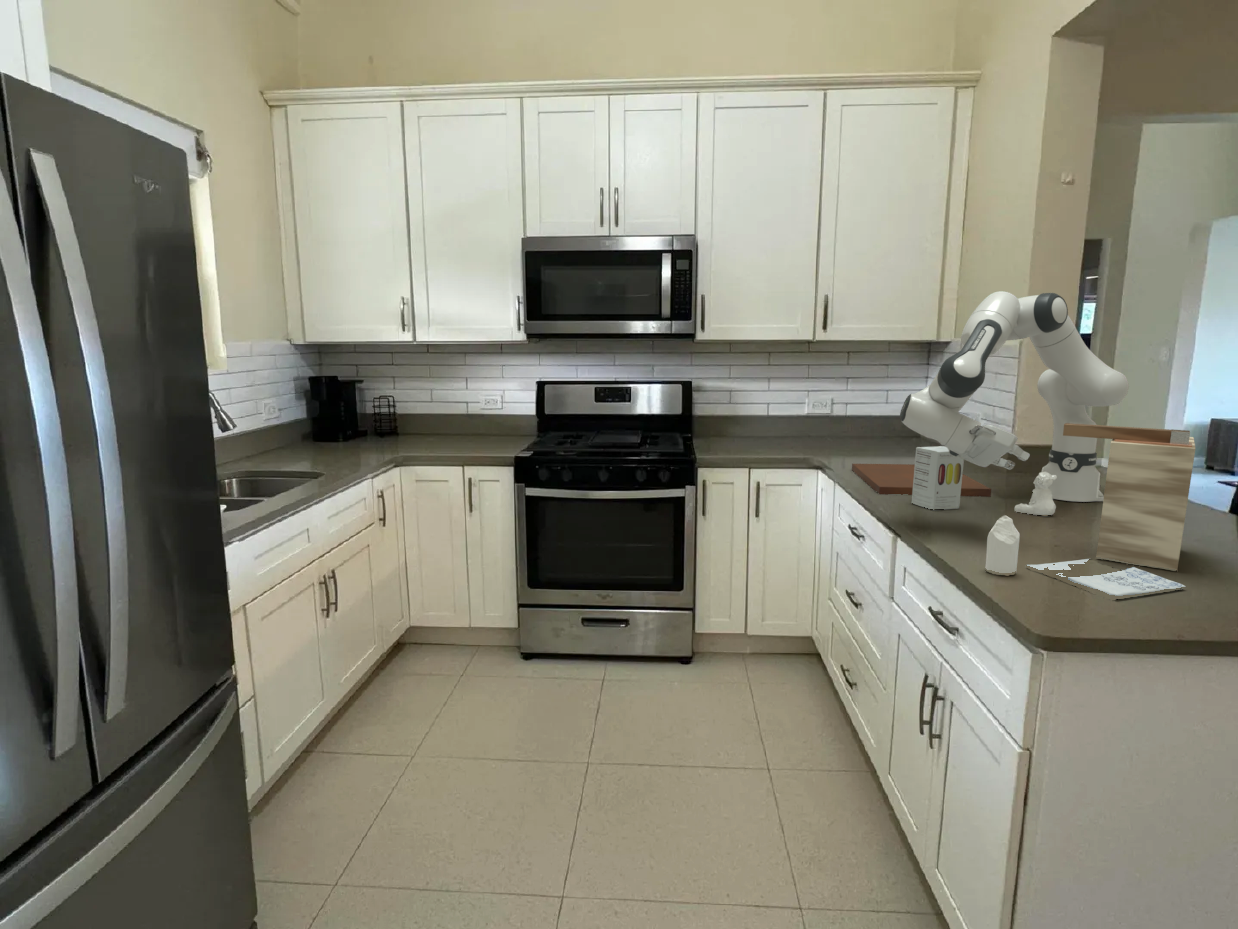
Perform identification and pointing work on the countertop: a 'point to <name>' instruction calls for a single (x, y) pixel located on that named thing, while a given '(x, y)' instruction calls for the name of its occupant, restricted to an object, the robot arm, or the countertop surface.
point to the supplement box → (937, 478)
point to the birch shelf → (1145, 502)
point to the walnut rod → (1127, 433)
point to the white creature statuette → (1040, 497)
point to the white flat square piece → (1116, 580)
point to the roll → (1002, 546)
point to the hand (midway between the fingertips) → (1020, 462)
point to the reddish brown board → (907, 479)
